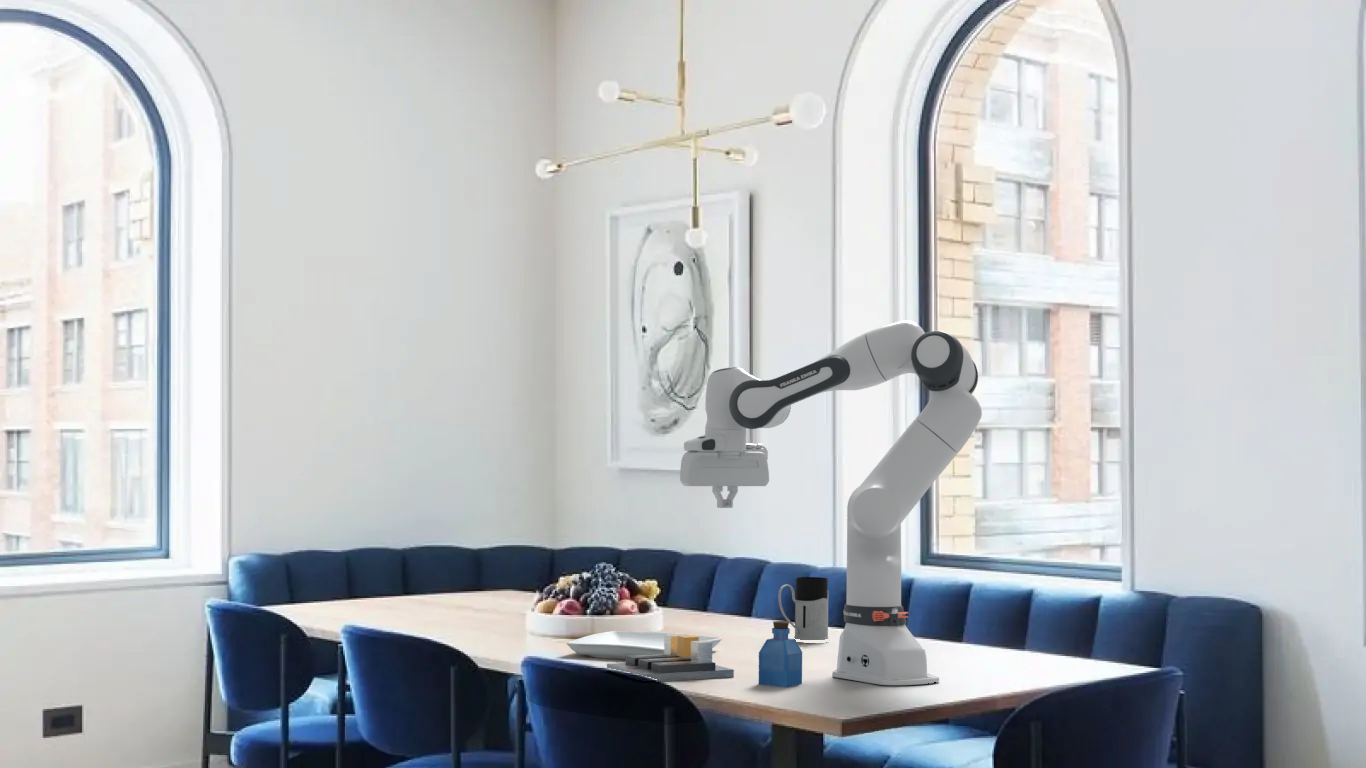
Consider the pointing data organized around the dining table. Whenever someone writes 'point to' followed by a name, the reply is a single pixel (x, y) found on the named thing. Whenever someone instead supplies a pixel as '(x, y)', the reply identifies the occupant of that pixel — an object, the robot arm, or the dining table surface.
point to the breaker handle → (685, 645)
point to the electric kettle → (809, 608)
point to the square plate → (626, 644)
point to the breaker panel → (675, 663)
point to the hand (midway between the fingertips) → (724, 507)
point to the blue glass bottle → (780, 659)
